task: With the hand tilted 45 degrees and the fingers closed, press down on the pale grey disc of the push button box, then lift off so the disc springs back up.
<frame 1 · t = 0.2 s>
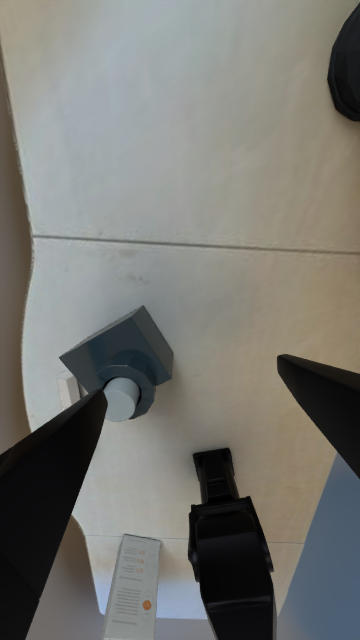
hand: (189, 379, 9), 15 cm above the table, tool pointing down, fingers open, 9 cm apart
small box: (139, 542, 36), on the table
pale grey rod: (80, 413, 27), on the table
pale grey disc: (119, 398, 16), point 9 cm above the table, slide at 0.1 cm
push button box: (131, 344, 24), on the table
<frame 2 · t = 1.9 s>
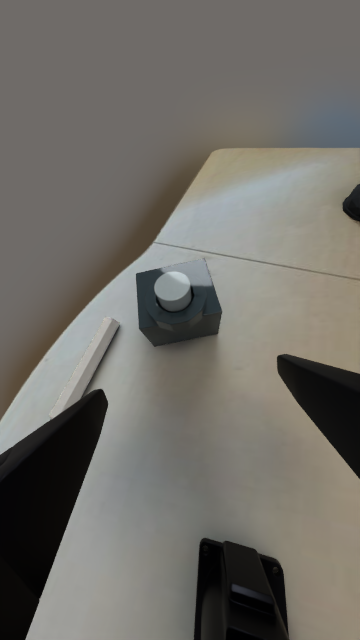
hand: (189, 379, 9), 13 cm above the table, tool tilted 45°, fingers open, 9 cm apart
pale grey rod: (89, 375, 23), on the table
pale grey disc: (173, 291, 17), point 9 cm above the table, slide at 0.1 cm
push button box: (181, 315, 25), on the table
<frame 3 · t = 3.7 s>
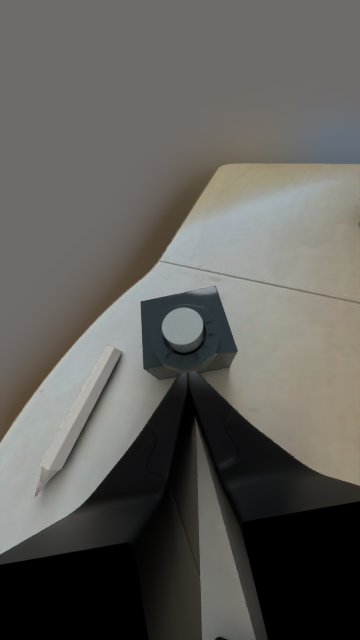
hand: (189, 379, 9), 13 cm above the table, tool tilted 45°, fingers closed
pale grey rod: (87, 411, 21), on the table
pale grey disc: (183, 330, 15), point 9 cm above the table, slide at 0.1 cm
push button box: (188, 344, 23), on the table
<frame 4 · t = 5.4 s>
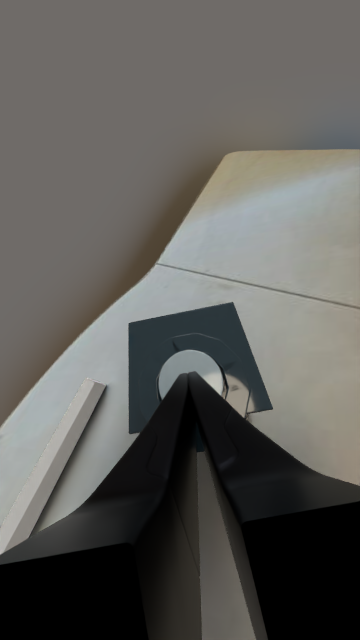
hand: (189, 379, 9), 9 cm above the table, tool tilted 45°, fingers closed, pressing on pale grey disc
pale grey rod: (57, 470, 15), on the table
pale grey disc: (191, 383, 10), point 8 cm above the table, slide at -0.5 cm, touching gripper
push button box: (193, 374, 18), on the table
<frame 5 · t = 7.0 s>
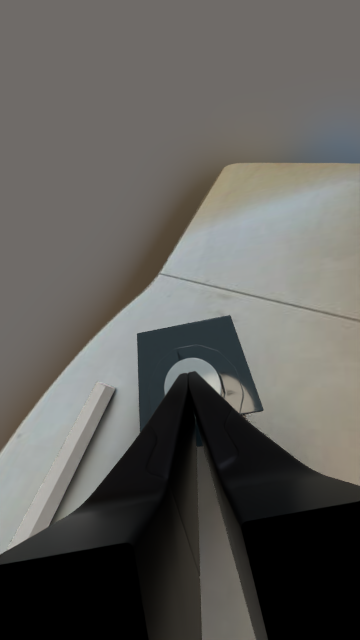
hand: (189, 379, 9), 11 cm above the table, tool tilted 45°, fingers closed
pale grey rod: (72, 465, 17), on the table
pale grey disc: (193, 387, 11), point 9 cm above the table, slide at 0.1 cm
push button box: (194, 378, 19), on the table
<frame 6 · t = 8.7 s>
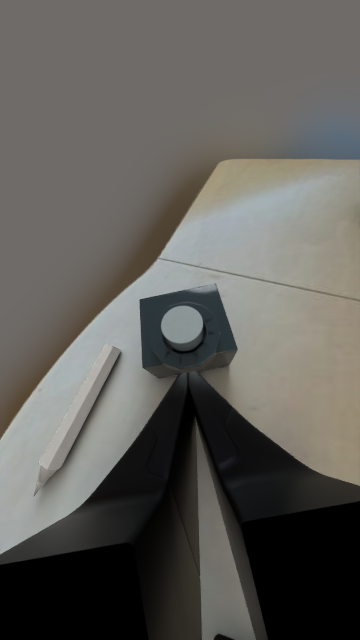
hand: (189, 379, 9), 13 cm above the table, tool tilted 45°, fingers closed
pale grey rod: (86, 410, 21), on the table
pale grey disc: (183, 328, 14), point 9 cm above the table, slide at 0.1 cm
push button box: (188, 342, 23), on the table
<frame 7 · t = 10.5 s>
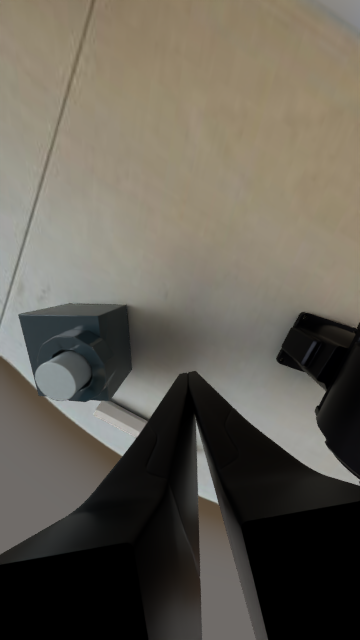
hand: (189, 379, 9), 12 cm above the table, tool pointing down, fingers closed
pale grey rod: (150, 425, 26), on the table
pale grey disc: (65, 374, 14), point 9 cm above the table, slide at 0.1 cm
push button box: (100, 337, 23), on the table
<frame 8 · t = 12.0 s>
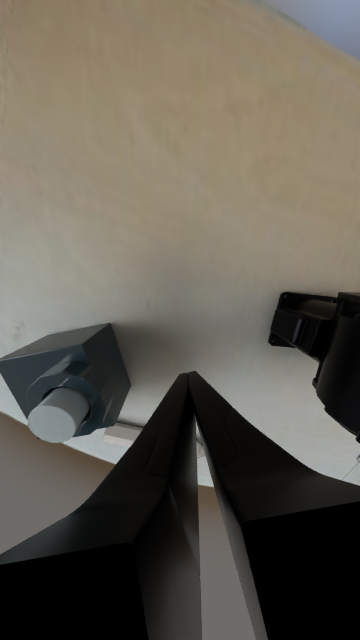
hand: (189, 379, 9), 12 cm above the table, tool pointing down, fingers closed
pale grey rod: (162, 434, 25), on the table
pale grey disc: (61, 413, 13), point 9 cm above the table, slide at 0.1 cm
push button box: (91, 361, 22), on the table
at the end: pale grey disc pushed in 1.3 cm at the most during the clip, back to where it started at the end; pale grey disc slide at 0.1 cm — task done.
